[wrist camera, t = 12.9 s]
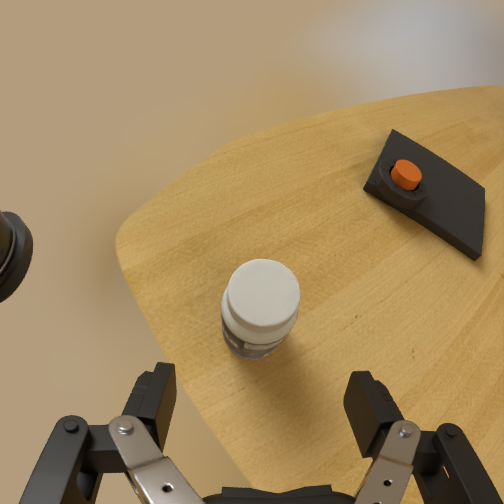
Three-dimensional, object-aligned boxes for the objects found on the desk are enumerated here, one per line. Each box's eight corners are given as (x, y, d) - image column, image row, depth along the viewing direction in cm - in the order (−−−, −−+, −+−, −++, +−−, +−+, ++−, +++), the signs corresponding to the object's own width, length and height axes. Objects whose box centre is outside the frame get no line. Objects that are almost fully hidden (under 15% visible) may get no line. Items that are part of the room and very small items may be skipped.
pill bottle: (218, 307, 25) (214, 256, 17) (275, 298, 25) (296, 246, 18) (227, 364, 22) (227, 339, 15) (288, 354, 23) (317, 324, 16)
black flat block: (359, 195, 32) (369, 176, 29) (389, 136, 38) (396, 120, 36) (473, 268, 28) (489, 255, 26) (480, 194, 35) (490, 181, 32)
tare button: (387, 180, 30) (393, 170, 28) (394, 164, 31) (399, 154, 30) (413, 195, 29) (419, 186, 28) (417, 178, 31) (423, 169, 29)
